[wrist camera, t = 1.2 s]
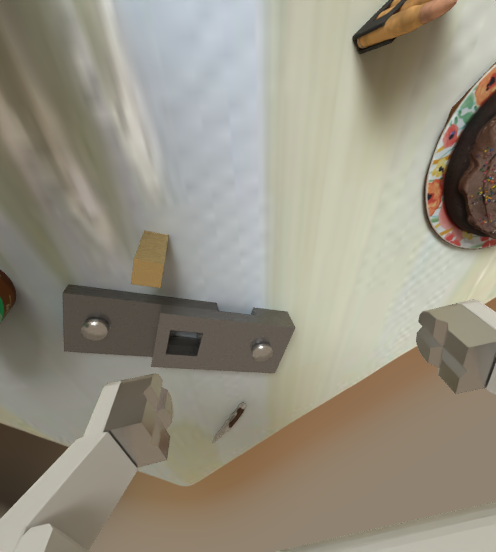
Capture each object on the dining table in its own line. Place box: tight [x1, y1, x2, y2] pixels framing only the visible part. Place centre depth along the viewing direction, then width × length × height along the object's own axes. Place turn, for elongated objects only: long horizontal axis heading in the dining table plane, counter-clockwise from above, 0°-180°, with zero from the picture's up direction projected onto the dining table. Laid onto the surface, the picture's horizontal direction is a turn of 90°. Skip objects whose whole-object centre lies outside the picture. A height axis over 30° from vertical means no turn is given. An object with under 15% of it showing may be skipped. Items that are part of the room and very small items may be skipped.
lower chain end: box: [63, 285, 218, 357], centre depth 41 cm, size 20×10×3 cm, turn 74°
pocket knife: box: [213, 403, 246, 443], centre depth 58 cm, size 14×1×2 cm, turn 148°
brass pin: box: [131, 231, 169, 288], centre depth 33 cm, size 3×3×8 cm
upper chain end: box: [151, 304, 295, 373], centre depth 43 cm, size 20×10×5 cm, turn 74°
